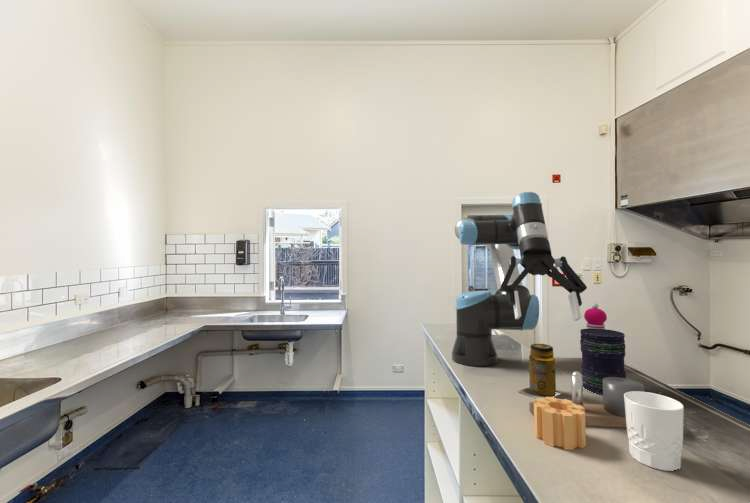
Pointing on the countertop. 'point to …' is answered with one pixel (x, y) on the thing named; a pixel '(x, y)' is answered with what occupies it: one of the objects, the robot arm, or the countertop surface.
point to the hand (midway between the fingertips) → (547, 318)
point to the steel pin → (577, 388)
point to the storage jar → (601, 357)
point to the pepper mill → (595, 318)
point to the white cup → (654, 429)
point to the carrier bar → (596, 416)
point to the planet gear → (560, 423)
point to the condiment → (541, 372)
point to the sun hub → (618, 393)
